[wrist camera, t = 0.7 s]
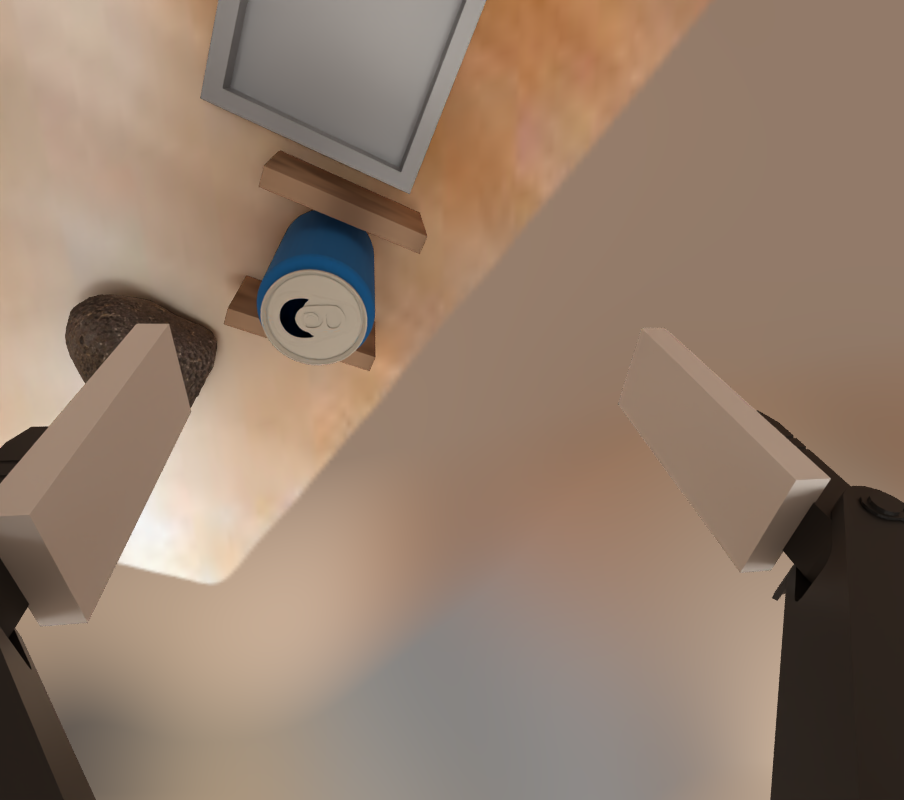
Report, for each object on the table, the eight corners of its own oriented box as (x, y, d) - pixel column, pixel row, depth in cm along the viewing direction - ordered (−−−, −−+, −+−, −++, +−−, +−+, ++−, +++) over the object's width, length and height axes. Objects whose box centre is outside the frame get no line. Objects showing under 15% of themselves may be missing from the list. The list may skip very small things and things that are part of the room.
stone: (224, 372, 45) (252, 347, 37) (150, 446, 41) (164, 436, 33) (127, 290, 42) (135, 242, 34) (36, 362, 38) (20, 327, 30)
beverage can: (277, 206, 35) (240, 262, 25) (371, 206, 36) (371, 261, 26) (290, 294, 39) (263, 374, 29) (376, 292, 40) (378, 369, 30)
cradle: (242, 290, 38) (223, 324, 33) (279, 150, 33) (263, 165, 28) (369, 334, 41) (369, 371, 36) (419, 212, 37) (427, 236, 32)
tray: (211, 95, 31) (200, 98, 29) (265, -180, 25) (255, -201, 23) (407, 186, 36) (409, 194, 34) (492, -31, 30) (501, -38, 28)
